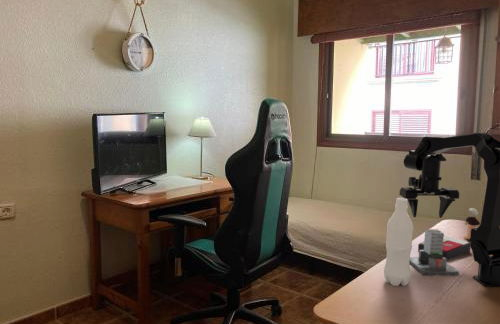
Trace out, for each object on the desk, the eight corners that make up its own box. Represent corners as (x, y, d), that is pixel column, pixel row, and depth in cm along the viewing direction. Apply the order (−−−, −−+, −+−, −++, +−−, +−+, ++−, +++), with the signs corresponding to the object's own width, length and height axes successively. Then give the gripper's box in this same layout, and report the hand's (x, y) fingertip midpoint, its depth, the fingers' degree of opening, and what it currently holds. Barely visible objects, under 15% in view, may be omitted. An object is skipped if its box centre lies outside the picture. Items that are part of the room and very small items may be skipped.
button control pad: (417, 242, 146) (441, 233, 154) (417, 253, 147) (441, 244, 155) (447, 251, 137) (471, 241, 145) (446, 263, 138) (470, 252, 146)
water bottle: (411, 289, 115) (417, 202, 112) (384, 286, 117) (390, 201, 113) (407, 279, 122) (412, 196, 119) (382, 276, 124) (387, 195, 120)
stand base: (458, 275, 126) (460, 258, 125) (423, 275, 125) (424, 258, 124) (438, 260, 138) (440, 245, 137) (406, 260, 137) (407, 245, 136)
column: (442, 255, 128) (444, 233, 127) (430, 255, 128) (431, 233, 127) (435, 250, 133) (437, 229, 132) (423, 250, 133) (425, 229, 132)
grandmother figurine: (458, 237, 162) (461, 206, 160) (465, 236, 164) (467, 205, 162) (476, 243, 155) (479, 211, 153) (483, 242, 157) (486, 210, 155)
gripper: (445, 169, 149) (441, 211, 151) (394, 169, 148) (391, 211, 150) (462, 174, 138) (458, 219, 140) (407, 174, 137) (404, 219, 139)
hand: (427, 217), depth 143 cm, fingers open, 9 cm apart
